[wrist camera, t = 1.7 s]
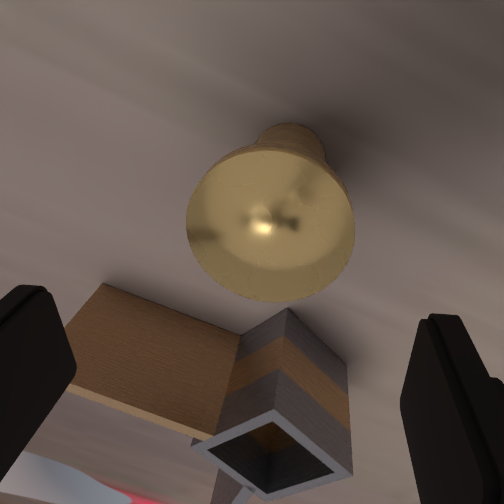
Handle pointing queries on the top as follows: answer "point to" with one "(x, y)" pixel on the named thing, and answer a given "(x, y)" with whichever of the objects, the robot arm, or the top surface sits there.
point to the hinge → (221, 391)
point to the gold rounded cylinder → (272, 218)
